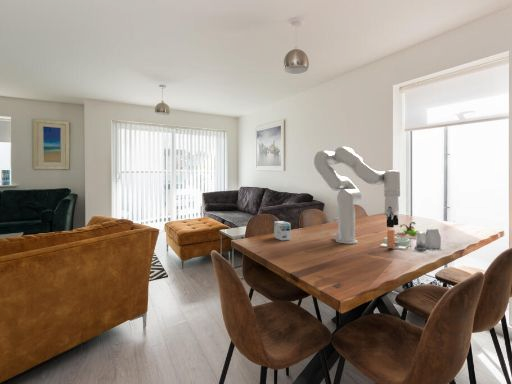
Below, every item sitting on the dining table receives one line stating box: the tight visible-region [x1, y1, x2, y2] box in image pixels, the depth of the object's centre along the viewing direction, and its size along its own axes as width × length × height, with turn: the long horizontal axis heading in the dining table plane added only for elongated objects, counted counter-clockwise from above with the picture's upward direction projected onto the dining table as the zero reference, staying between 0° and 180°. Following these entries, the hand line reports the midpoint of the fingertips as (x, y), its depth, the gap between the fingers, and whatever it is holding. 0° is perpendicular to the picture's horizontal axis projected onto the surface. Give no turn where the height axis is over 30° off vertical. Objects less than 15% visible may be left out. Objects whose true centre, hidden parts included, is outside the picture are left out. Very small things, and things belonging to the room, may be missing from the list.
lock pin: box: [386, 229, 396, 249], centre depth 144 cm, size 3×14×9 cm, turn 140°
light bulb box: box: [273, 220, 292, 241], centre depth 167 cm, size 11×7×11 cm, turn 22°
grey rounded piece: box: [414, 231, 428, 251], centre depth 140 cm, size 6×6×9 cm
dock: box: [379, 236, 411, 251], centre depth 147 cm, size 12×16×4 cm
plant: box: [395, 221, 420, 240], centre depth 168 cm, size 20×20×11 cm
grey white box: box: [425, 228, 442, 249], centre depth 144 cm, size 4×7×10 cm, turn 100°
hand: (392, 226), depth 139 cm, fingers open, 9 cm apart
